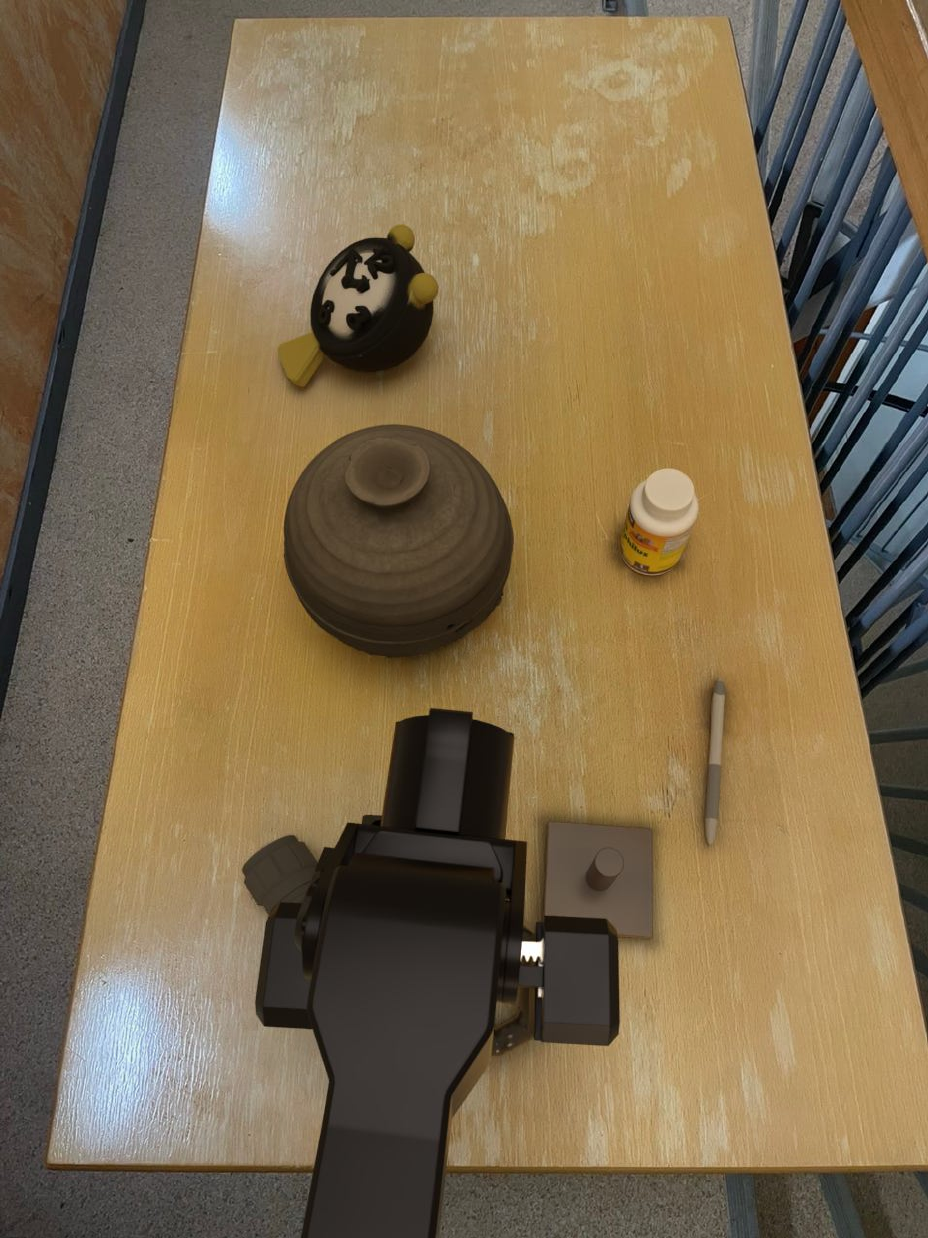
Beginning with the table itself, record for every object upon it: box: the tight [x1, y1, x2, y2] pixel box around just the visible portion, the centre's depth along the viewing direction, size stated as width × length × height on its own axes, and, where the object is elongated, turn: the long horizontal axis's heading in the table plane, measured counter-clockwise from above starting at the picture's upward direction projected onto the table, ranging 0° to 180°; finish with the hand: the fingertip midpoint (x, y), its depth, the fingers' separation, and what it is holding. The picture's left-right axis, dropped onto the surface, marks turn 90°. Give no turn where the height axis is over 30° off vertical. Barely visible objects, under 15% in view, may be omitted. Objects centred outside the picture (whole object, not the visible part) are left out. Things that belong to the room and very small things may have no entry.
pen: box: [704, 676, 726, 847], centre depth 73 cm, size 1×14×1 cm, turn 170°
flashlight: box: [241, 834, 318, 916], centre depth 66 cm, size 15×5×5 cm, turn 36°
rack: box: [543, 820, 654, 940], centre depth 67 cm, size 8×8×8 cm
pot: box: [283, 423, 515, 659], centre depth 72 cm, size 18×18×20 cm
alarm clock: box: [277, 223, 440, 388], centre depth 88 cm, size 12×15×15 cm
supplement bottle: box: [618, 467, 700, 576], centre depth 77 cm, size 6×6×10 cm
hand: (446, 982), depth 56 cm, fingers open, 9 cm apart
